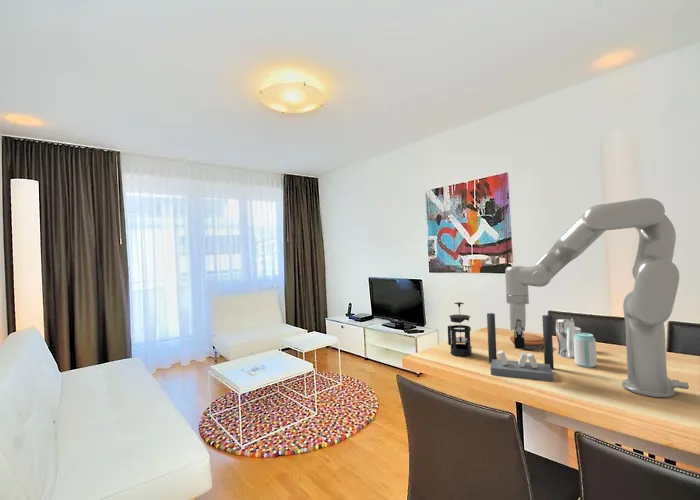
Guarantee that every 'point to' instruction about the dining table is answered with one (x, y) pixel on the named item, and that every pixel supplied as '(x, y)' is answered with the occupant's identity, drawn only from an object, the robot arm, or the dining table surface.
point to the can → (585, 350)
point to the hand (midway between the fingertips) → (519, 345)
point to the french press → (460, 349)
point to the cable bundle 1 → (491, 336)
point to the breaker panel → (522, 370)
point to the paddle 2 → (532, 360)
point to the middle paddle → (522, 359)
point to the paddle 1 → (502, 357)
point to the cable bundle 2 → (548, 340)
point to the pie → (531, 342)
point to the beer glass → (565, 337)
